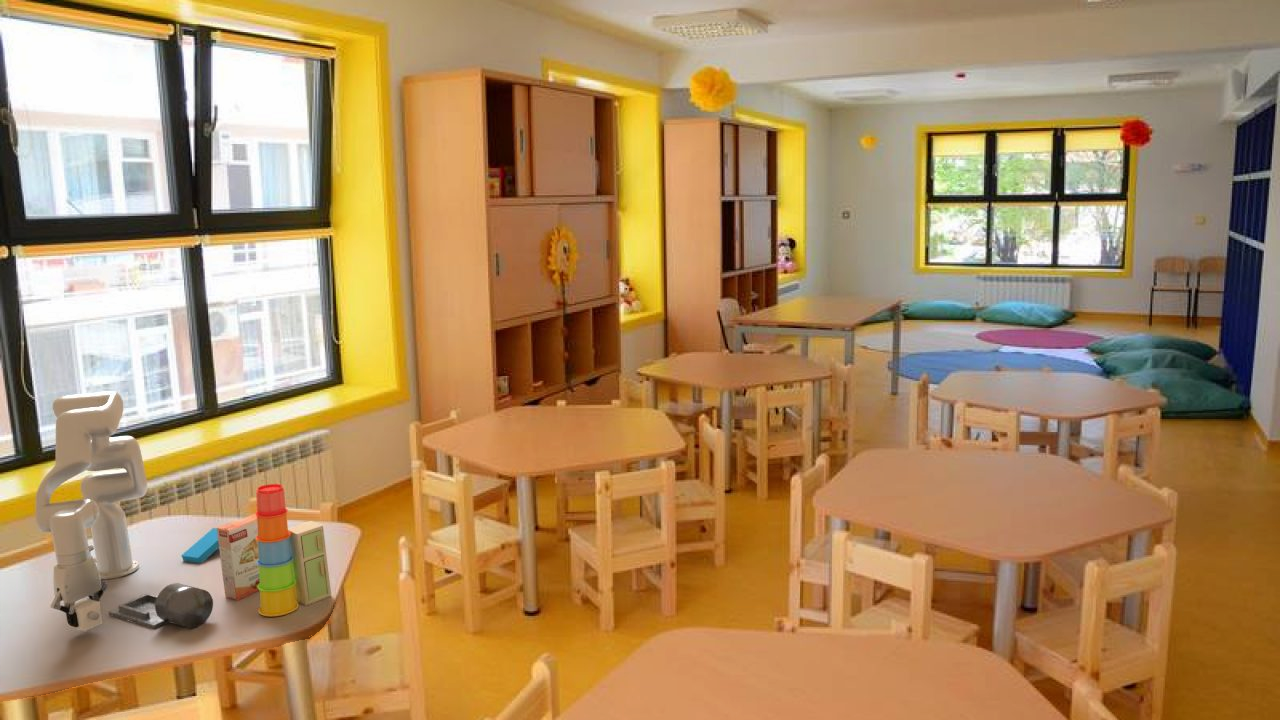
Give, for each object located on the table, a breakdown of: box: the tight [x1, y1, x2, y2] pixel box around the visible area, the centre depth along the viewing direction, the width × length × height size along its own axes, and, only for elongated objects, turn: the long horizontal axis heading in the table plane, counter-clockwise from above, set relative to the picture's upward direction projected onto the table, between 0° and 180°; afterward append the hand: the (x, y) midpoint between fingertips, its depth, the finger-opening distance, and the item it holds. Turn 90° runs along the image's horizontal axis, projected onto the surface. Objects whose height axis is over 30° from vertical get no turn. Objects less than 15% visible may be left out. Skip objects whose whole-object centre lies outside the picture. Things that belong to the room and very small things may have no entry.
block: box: [66, 597, 103, 632], centre depth 253 cm, size 9×5×6 cm, turn 61°
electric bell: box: [108, 582, 214, 630], centre depth 262 cm, size 30×12×10 cm, turn 61°
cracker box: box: [216, 513, 260, 601], centre depth 275 cm, size 14×6×21 cm, turn 148°
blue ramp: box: [180, 527, 219, 564], centre depth 309 cm, size 7×7×18 cm
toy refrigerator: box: [288, 520, 332, 606], centre depth 267 cm, size 8×7×21 cm
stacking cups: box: [254, 483, 300, 617], centre depth 260 cm, size 10×10×35 cm
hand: (84, 620), depth 253 cm, fingers closed on block, 5 cm apart
